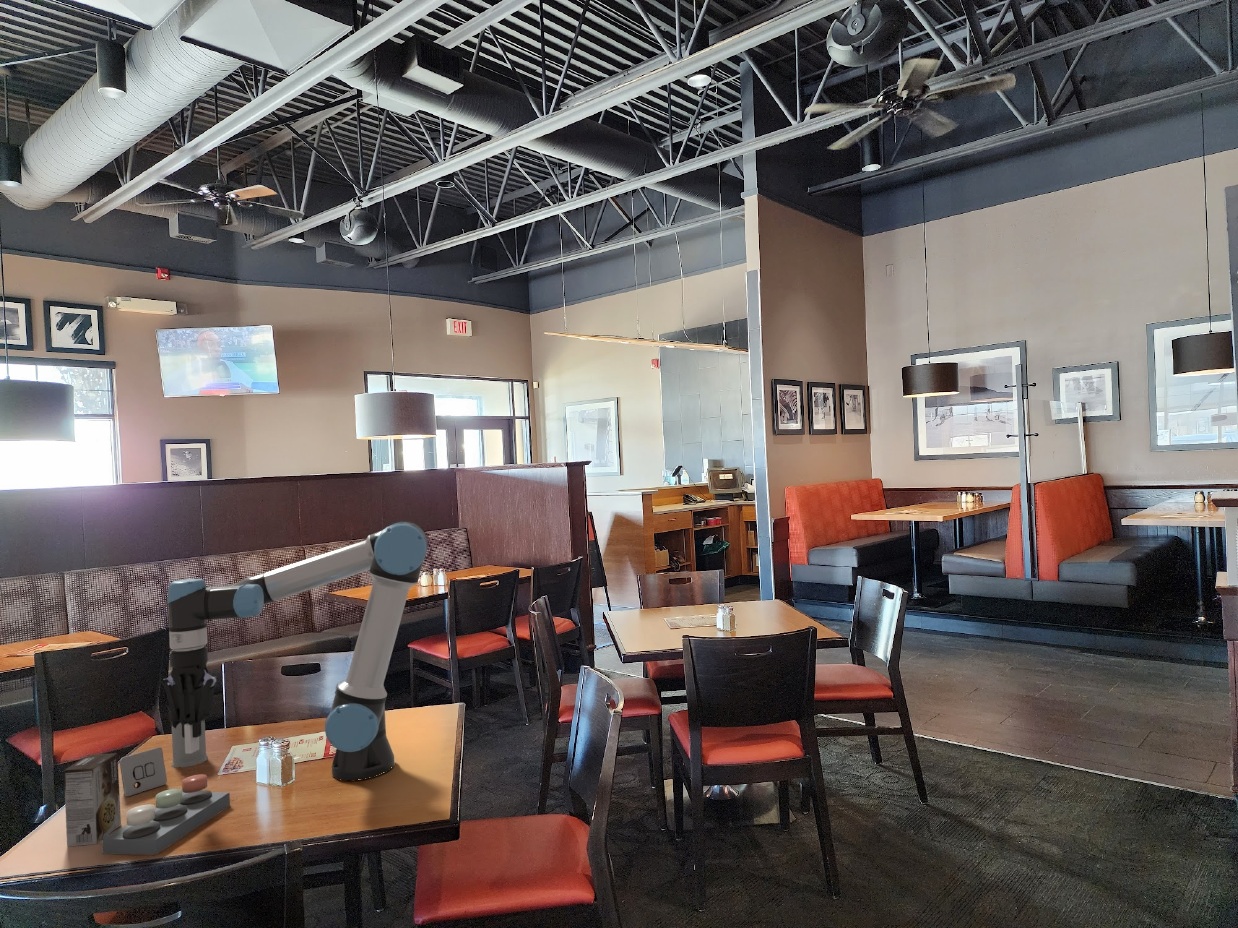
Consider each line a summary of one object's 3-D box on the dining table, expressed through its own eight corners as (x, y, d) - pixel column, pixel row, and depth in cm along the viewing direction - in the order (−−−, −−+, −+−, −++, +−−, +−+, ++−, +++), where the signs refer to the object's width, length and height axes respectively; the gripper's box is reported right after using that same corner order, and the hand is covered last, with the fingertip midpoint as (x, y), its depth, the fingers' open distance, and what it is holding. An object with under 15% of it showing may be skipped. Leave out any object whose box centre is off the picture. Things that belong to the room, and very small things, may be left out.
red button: (212, 783, 176) (211, 774, 176) (197, 792, 171) (196, 782, 171) (192, 783, 177) (192, 774, 177) (177, 792, 172) (176, 782, 172)
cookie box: (91, 827, 169) (88, 753, 169) (122, 824, 169) (119, 751, 169) (65, 847, 160) (62, 769, 160) (97, 844, 160) (94, 767, 160)
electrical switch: (125, 798, 184) (122, 758, 185) (118, 795, 187) (115, 756, 188) (168, 784, 192) (165, 747, 192) (159, 782, 195) (157, 745, 195)
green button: (187, 798, 168) (187, 788, 168) (171, 808, 163) (170, 798, 163) (167, 798, 169) (167, 788, 169) (150, 808, 164) (149, 797, 164)
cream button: (160, 814, 160) (160, 804, 160) (142, 825, 155) (142, 814, 155) (139, 814, 161) (139, 804, 161) (120, 825, 156) (120, 814, 156)
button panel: (230, 805, 177) (229, 789, 177) (155, 854, 154) (154, 837, 154) (183, 804, 178) (182, 789, 178) (102, 853, 156) (102, 836, 156)
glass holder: (174, 770, 201) (171, 713, 202) (165, 756, 212) (163, 702, 213) (211, 760, 207) (208, 705, 207) (200, 748, 218) (198, 695, 218)
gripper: (150, 651, 172) (154, 756, 171) (203, 651, 170) (207, 757, 170) (174, 644, 179) (178, 745, 179) (225, 643, 177) (229, 745, 177)
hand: (192, 751), depth 174 cm, fingers closed
